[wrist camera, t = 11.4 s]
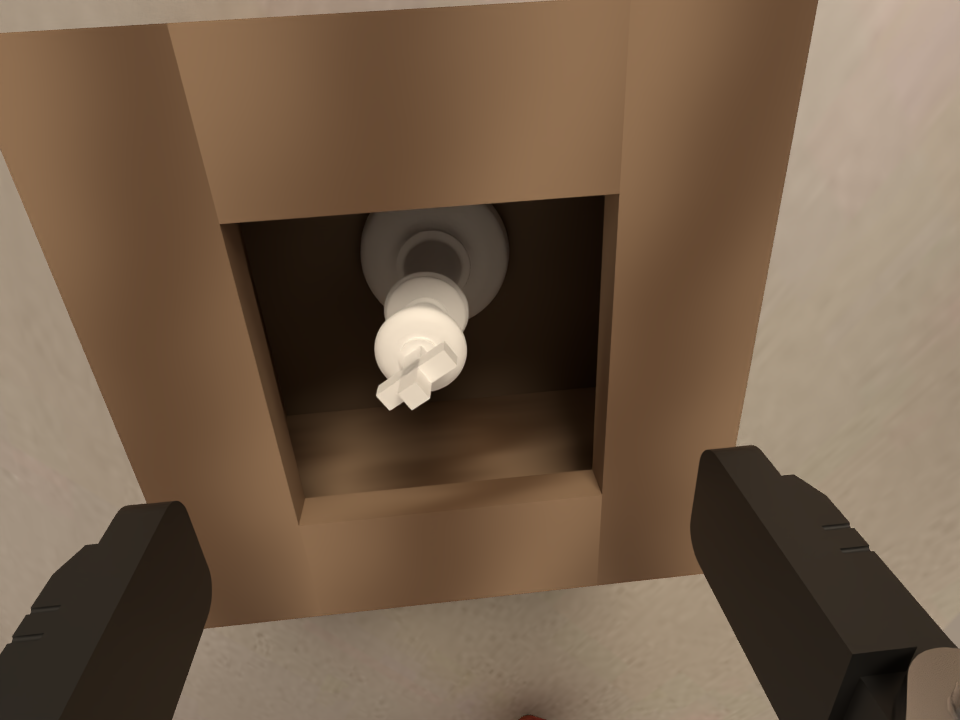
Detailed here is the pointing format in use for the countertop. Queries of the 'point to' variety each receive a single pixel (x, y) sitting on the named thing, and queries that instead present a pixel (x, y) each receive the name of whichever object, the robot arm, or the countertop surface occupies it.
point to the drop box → (359, 315)
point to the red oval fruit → (530, 718)
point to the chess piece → (429, 291)
